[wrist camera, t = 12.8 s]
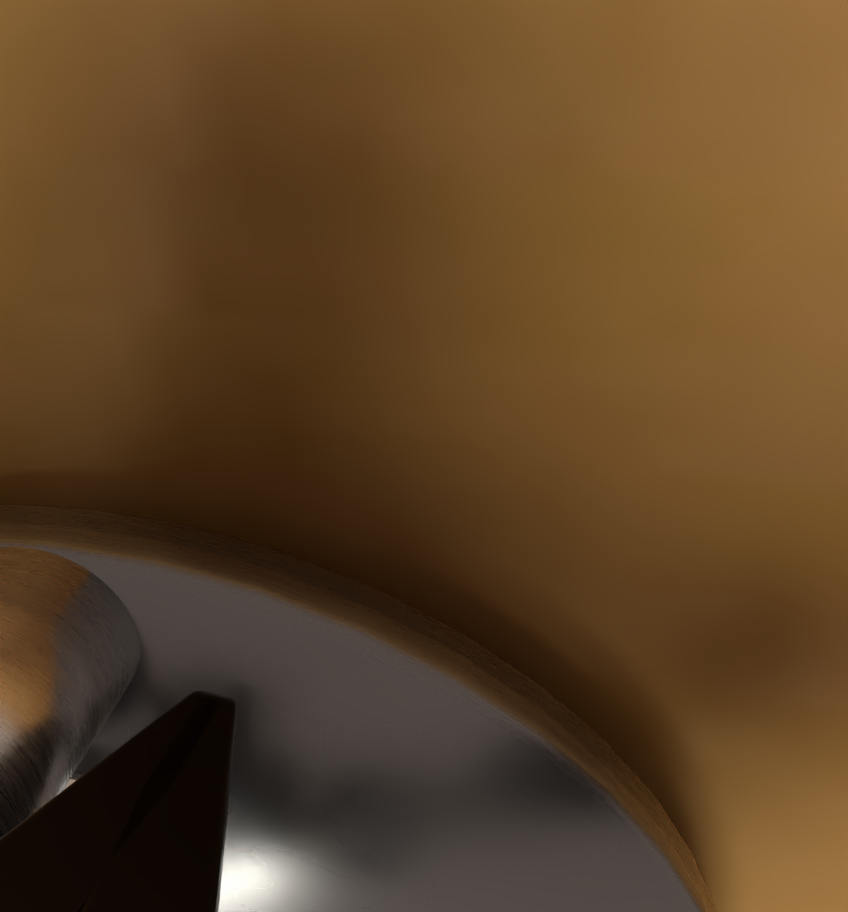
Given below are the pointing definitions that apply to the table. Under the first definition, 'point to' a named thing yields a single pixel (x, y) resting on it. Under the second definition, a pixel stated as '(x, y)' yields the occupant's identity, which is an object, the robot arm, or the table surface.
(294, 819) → the turntable
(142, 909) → the robot arm
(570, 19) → the table surface
